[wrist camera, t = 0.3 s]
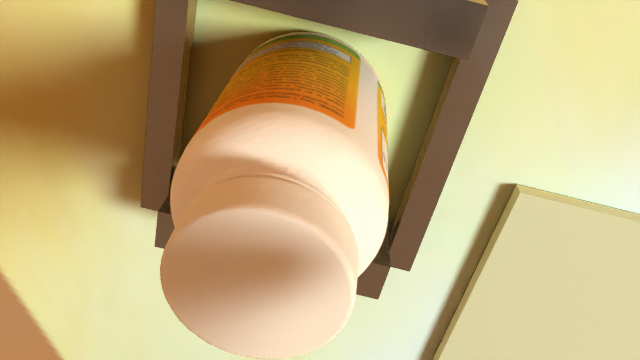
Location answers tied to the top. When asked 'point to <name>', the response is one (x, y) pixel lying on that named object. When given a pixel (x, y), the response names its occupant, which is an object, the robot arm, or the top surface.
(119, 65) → the top surface
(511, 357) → the pad
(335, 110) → the supplement bottle
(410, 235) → the grey low square frame
